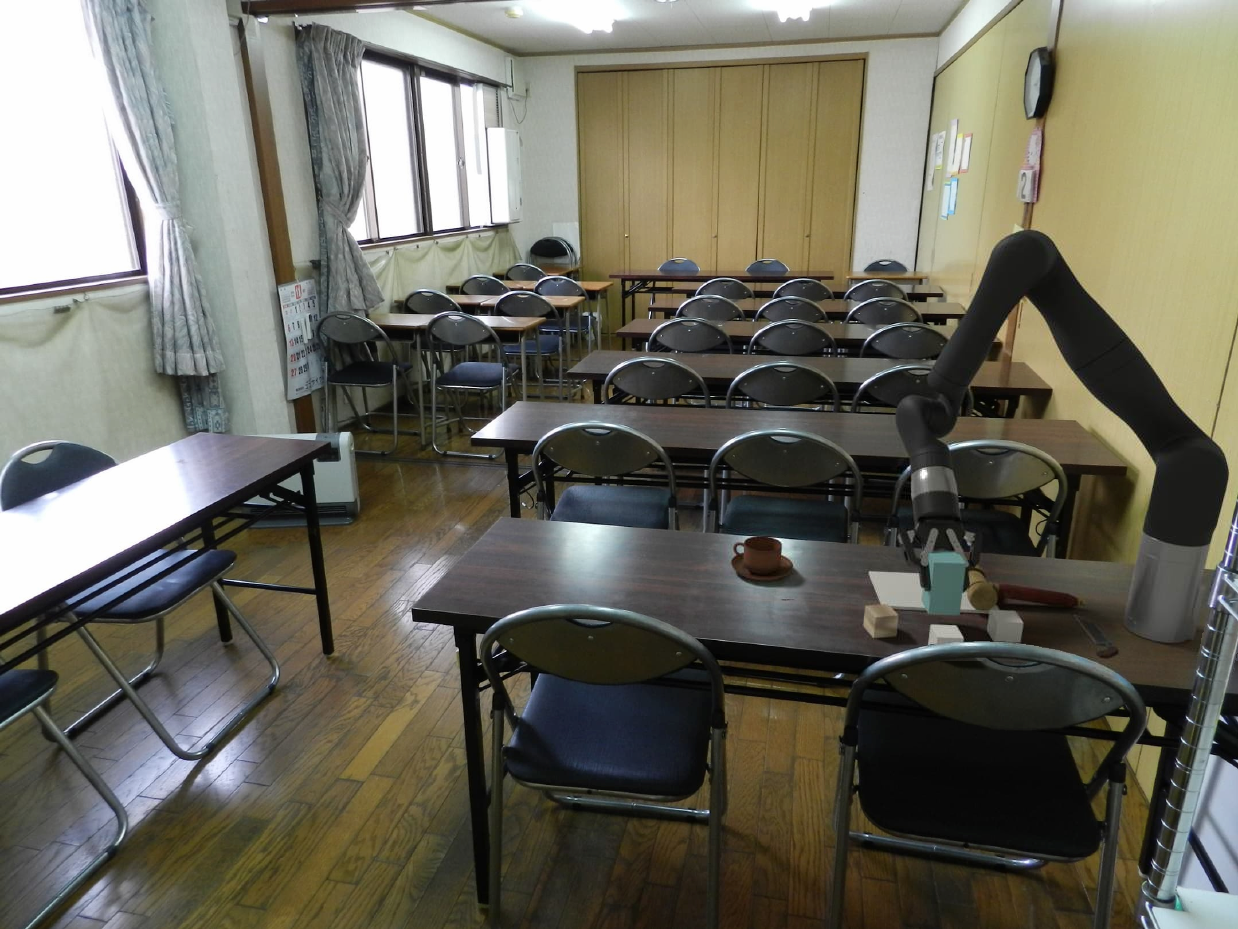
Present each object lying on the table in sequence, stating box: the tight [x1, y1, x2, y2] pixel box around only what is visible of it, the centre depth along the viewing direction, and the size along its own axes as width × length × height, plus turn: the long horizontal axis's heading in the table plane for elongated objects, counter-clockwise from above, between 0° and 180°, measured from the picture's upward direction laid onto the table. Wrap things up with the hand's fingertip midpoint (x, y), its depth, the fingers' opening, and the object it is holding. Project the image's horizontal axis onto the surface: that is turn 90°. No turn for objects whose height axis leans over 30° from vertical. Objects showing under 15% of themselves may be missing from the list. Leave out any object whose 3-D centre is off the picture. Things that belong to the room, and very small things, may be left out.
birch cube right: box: [863, 603, 899, 639], centre depth 135 cm, size 4×4×4 cm
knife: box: [1072, 614, 1118, 659], centre depth 133 cm, size 14×4×1 cm, turn 171°
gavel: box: [966, 564, 1087, 611], centre depth 143 cm, size 21×5×10 cm
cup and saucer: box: [730, 535, 794, 582], centre depth 157 cm, size 12×12×6 cm
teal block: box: [922, 550, 966, 616], centre depth 135 cm, size 5×5×10 cm
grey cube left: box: [986, 609, 1024, 643], centre depth 133 cm, size 4×4×4 cm
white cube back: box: [927, 624, 964, 646], centre depth 128 cm, size 4×4×4 cm
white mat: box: [868, 570, 1000, 615], centre depth 148 cm, size 20×14×1 cm
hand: (945, 590), depth 133 cm, fingers closed on teal block, 5 cm apart
